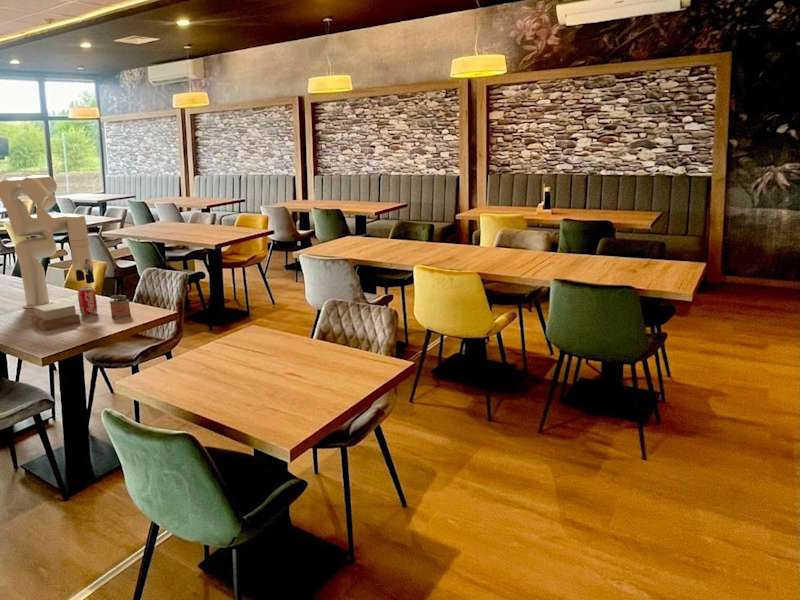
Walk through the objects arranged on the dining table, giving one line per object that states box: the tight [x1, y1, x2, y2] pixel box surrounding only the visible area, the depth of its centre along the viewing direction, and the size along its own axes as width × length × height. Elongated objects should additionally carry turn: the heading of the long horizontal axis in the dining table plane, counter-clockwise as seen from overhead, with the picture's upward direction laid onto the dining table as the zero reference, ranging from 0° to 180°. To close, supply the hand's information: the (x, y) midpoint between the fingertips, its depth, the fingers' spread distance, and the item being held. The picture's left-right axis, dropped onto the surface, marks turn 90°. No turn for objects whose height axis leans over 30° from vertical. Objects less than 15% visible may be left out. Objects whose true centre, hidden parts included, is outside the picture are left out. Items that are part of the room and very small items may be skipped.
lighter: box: [109, 294, 132, 319], centre depth 280 cm, size 8×3×10 cm, turn 104°
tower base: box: [31, 313, 81, 332], centre depth 271 cm, size 14×14×4 cm
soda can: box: [77, 286, 98, 317], centre depth 285 cm, size 7×7×12 cm
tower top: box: [32, 301, 76, 321], centre depth 270 cm, size 12×12×4 cm
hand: (85, 281), depth 282 cm, fingers open, 9 cm apart
